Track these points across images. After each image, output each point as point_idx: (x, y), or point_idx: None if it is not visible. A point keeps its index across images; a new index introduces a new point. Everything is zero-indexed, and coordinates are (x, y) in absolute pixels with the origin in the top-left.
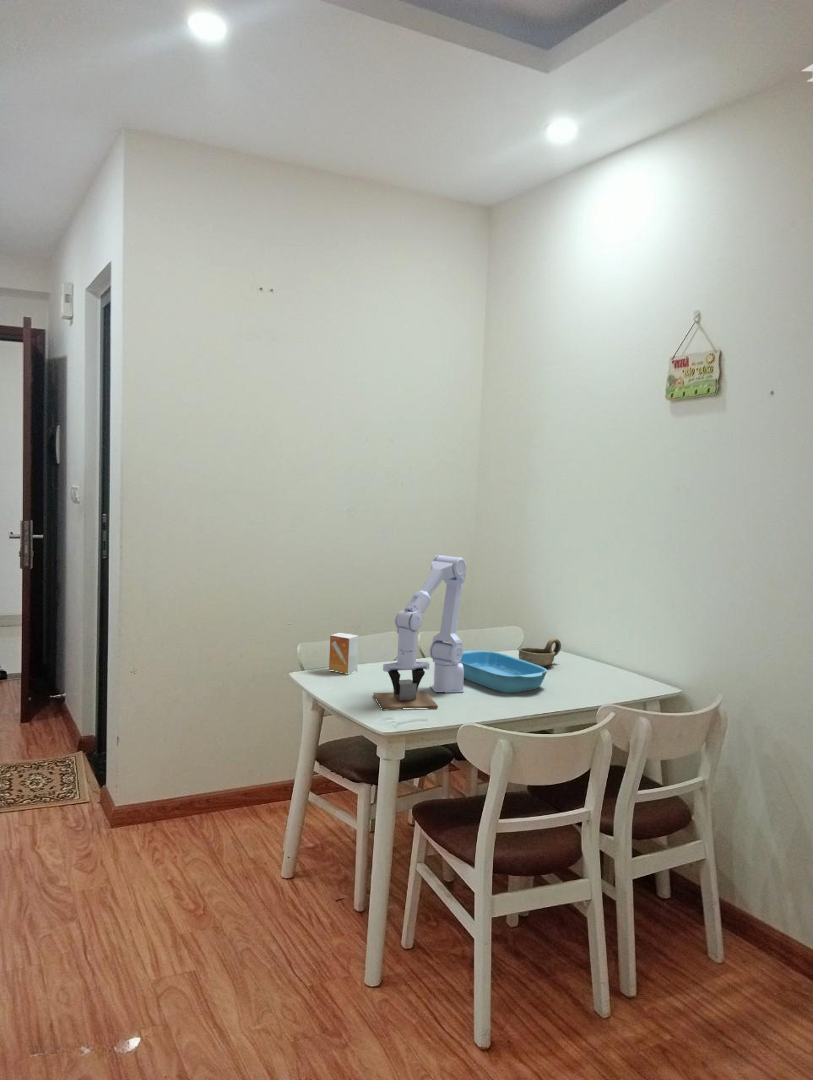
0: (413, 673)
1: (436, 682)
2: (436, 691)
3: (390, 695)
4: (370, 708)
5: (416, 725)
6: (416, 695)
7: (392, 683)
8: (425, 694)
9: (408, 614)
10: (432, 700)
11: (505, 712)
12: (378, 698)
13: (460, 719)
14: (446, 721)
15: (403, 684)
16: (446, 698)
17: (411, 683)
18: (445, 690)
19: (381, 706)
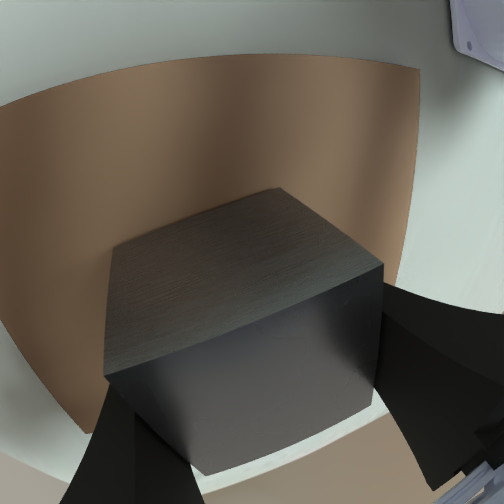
0: (448, 400)
1: (502, 12)
2: (462, 50)
3: (79, 196)
4: (20, 401)
5: (235, 476)
6: (336, 168)
7: (102, 419)
8: (401, 140)
9: None
10: (392, 278)
11: (497, 302)
12: (1, 306)
13: (381, 401)
14: (335, 430)
15: (238, 463)
16: (465, 159)
17: (324, 425)
18: (493, 57)
19: (73, 416)
